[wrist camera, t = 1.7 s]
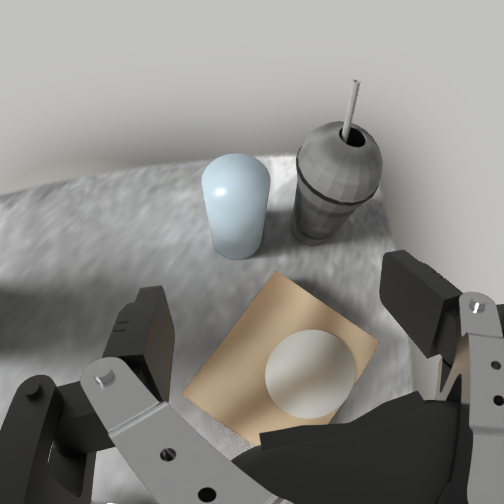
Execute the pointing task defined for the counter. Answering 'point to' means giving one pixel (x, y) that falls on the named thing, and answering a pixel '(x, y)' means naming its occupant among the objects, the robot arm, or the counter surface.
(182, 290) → the counter surface
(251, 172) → the pale blue domed cylinder
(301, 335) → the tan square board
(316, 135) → the beverage cup
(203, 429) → the counter surface
